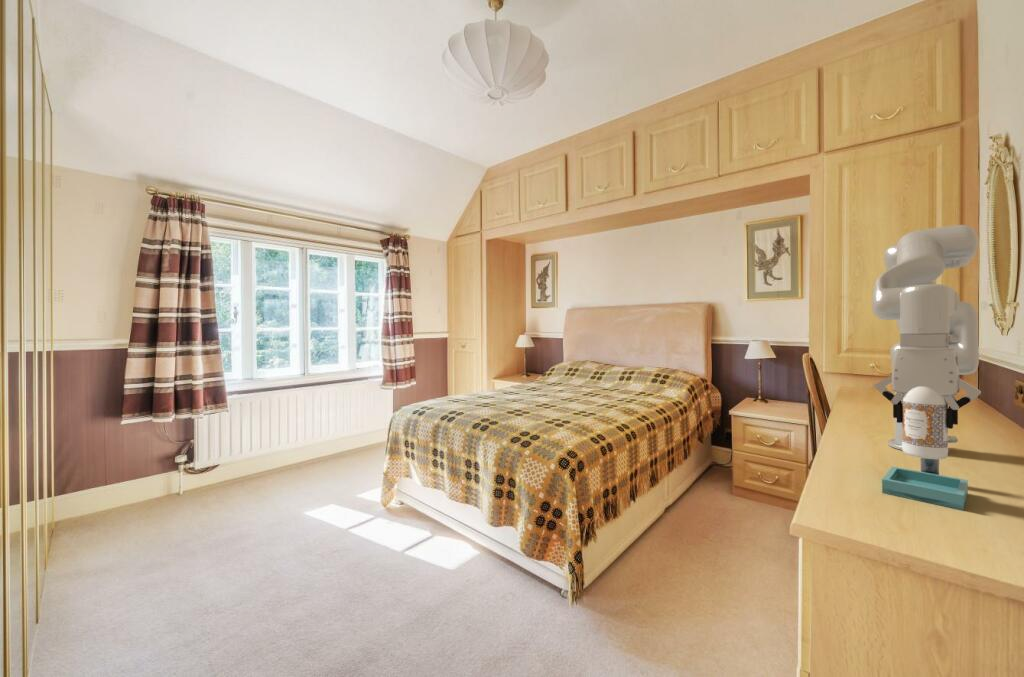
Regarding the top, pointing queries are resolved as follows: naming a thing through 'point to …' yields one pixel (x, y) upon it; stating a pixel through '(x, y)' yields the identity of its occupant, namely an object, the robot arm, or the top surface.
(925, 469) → the post
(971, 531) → the top surface
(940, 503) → the holder tray
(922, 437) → the bath foam
